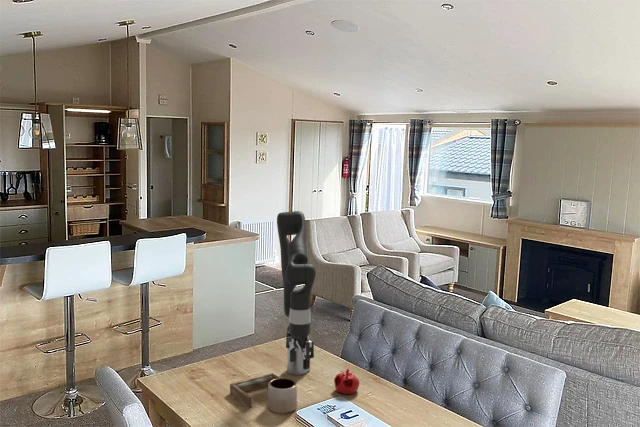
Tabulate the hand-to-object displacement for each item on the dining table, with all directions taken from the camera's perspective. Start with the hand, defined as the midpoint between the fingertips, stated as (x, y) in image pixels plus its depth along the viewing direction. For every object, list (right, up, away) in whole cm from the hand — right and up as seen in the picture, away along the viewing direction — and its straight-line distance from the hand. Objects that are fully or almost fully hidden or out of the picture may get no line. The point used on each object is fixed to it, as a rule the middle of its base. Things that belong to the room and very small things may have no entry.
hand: (299, 365), depth 200 cm
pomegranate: (+18, -18, +27) cm, 37 cm away
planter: (-7, -19, +12) cm, 24 cm away
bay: (-15, -18, +22) cm, 32 cm away
